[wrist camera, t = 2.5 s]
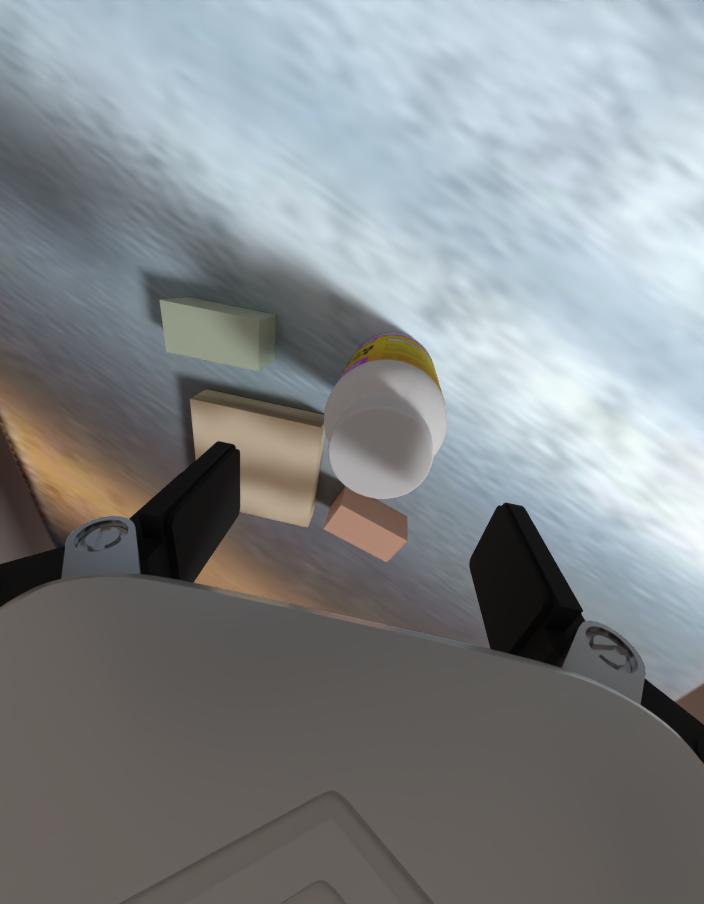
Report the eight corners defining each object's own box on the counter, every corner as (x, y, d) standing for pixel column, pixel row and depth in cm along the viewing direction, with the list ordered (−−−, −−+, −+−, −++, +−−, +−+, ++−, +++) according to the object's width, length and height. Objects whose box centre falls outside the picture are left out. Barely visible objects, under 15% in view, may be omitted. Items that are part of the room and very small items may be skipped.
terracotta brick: (330, 505, 32) (323, 528, 29) (347, 482, 31) (341, 505, 28) (388, 536, 33) (386, 562, 30) (407, 515, 32) (407, 541, 29)
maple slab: (206, 389, 28) (189, 398, 26) (327, 415, 27) (321, 427, 25) (213, 487, 33) (199, 502, 31) (314, 510, 33) (307, 527, 31)
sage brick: (193, 343, 26) (166, 351, 23) (189, 296, 24) (159, 299, 21) (275, 359, 26) (258, 371, 23) (277, 314, 24) (258, 319, 21)
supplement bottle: (375, 313, 23) (348, 349, 12) (451, 360, 24) (493, 434, 13) (335, 390, 26) (284, 475, 15) (403, 428, 27) (403, 535, 16)
